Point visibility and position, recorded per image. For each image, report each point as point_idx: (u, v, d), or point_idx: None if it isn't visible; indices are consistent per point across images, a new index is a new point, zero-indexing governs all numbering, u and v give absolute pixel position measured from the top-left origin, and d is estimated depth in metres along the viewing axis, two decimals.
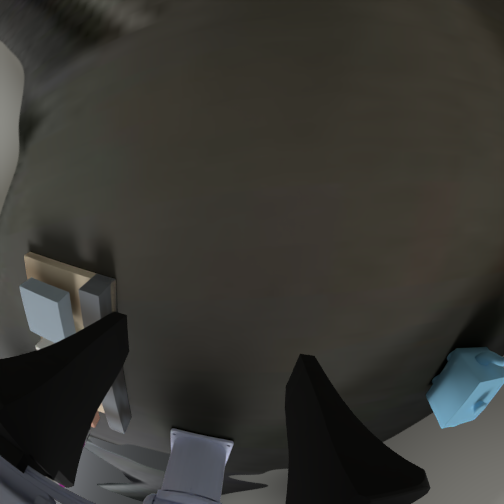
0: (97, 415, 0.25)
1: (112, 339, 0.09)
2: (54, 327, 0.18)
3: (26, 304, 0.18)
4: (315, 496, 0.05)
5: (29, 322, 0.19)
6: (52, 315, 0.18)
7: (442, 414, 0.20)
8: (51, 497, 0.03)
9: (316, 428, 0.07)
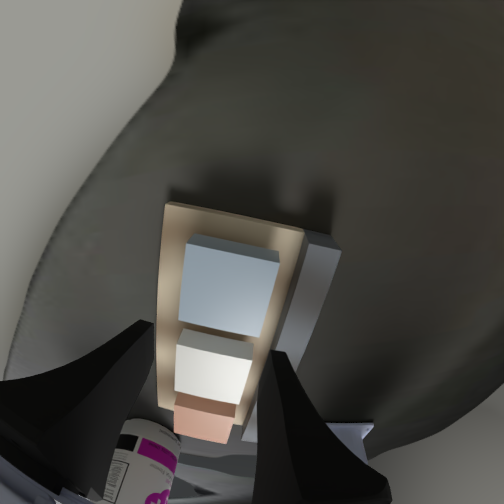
0: None
1: (141, 348, 0.09)
2: (249, 306, 0.15)
3: (191, 275, 0.15)
4: (272, 496, 0.05)
5: (183, 306, 0.16)
6: (255, 286, 0.15)
7: None
8: (51, 497, 0.03)
9: (277, 425, 0.07)
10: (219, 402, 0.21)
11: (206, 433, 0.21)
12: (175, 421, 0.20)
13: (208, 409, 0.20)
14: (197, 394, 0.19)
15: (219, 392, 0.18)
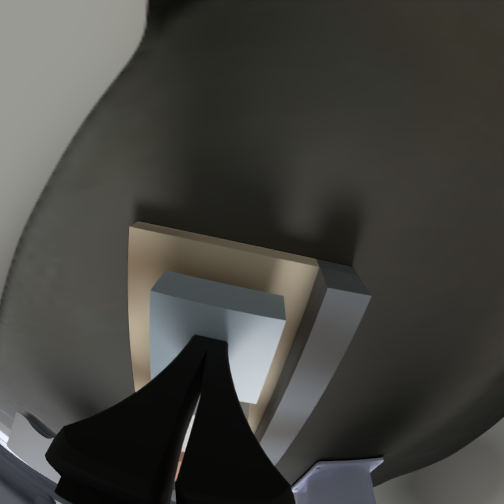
0: None
1: (202, 365, 0.09)
2: (241, 371, 0.11)
3: (161, 331, 0.10)
4: None
5: (155, 366, 0.11)
6: (250, 349, 0.10)
7: None
8: (51, 497, 0.03)
9: None
10: None
11: None
12: None
13: None
14: (183, 450, 0.14)
15: None
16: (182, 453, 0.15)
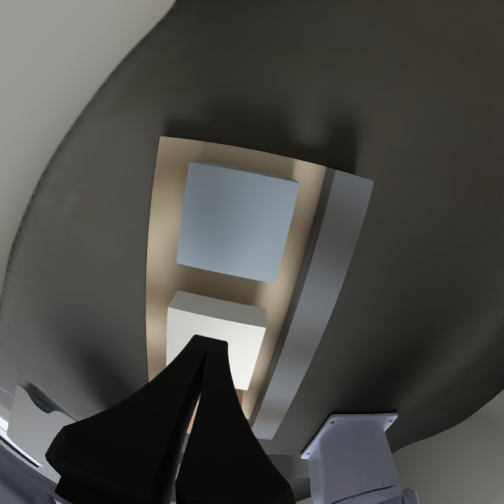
0: None
1: (202, 365, 0.09)
2: (263, 240, 0.13)
3: (194, 201, 0.12)
4: None
5: (183, 243, 0.13)
6: (271, 213, 0.12)
7: None
8: (51, 497, 0.03)
9: None
10: None
11: None
12: None
13: None
14: None
15: None
16: None
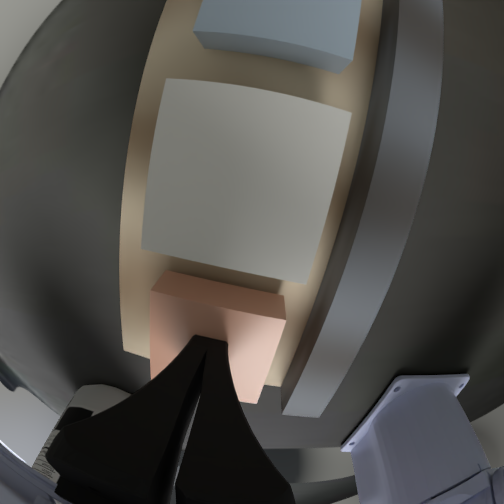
0: None
1: (202, 365, 0.09)
2: (329, 3, 0.06)
3: None
4: None
5: (208, 5, 0.06)
6: None
7: None
8: (51, 497, 0.03)
9: None
10: (249, 294, 0.11)
11: None
12: (152, 346, 0.10)
13: (227, 302, 0.10)
14: (199, 256, 0.08)
15: (259, 237, 0.08)
16: (197, 290, 0.10)
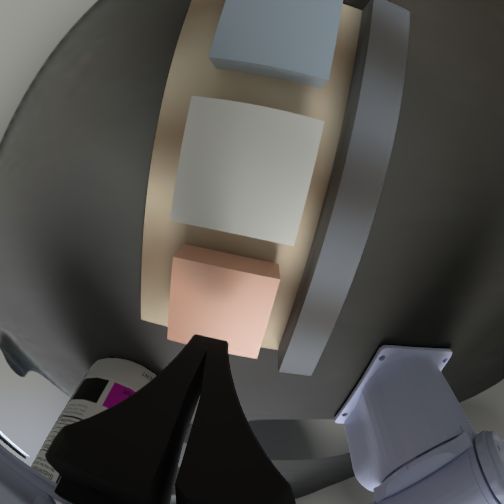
0: None
1: (202, 365, 0.09)
2: (312, 34, 0.09)
3: (237, 0, 0.08)
4: None
5: (220, 36, 0.09)
6: (319, 12, 0.08)
7: None
8: (51, 497, 0.03)
9: None
10: (250, 261, 0.14)
11: (224, 333, 0.14)
12: (171, 306, 0.13)
13: (234, 266, 0.13)
14: (215, 225, 0.11)
15: (258, 210, 0.10)
16: (209, 257, 0.13)
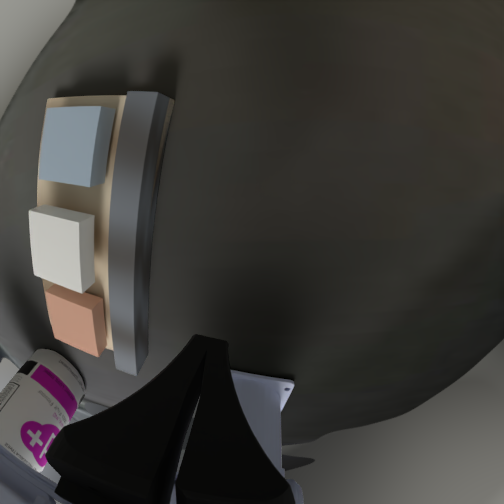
0: (104, 338, 0.20)
1: (202, 365, 0.09)
2: (80, 152, 0.14)
3: (47, 133, 0.13)
4: None
5: (41, 163, 0.14)
6: (84, 131, 0.13)
7: None
8: (51, 497, 0.03)
9: None
10: (85, 296, 0.19)
11: (77, 337, 0.19)
12: (51, 318, 0.18)
13: (72, 299, 0.18)
14: (49, 279, 0.16)
15: (63, 273, 0.15)
16: (63, 292, 0.18)
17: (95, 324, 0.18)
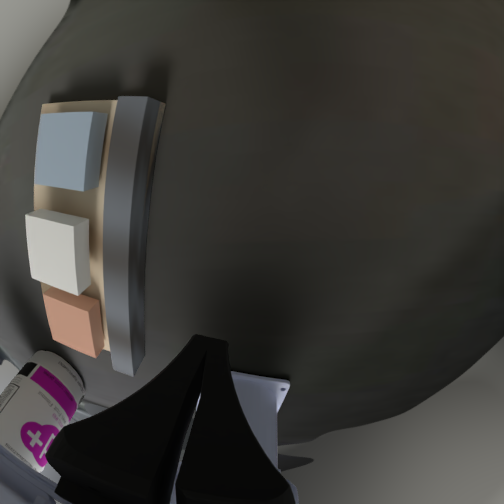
0: (101, 339, 0.21)
1: (202, 365, 0.09)
2: (74, 157, 0.14)
3: (42, 138, 0.13)
4: None
5: (37, 169, 0.14)
6: (77, 136, 0.13)
7: None
8: (51, 497, 0.03)
9: None
10: (82, 298, 0.19)
11: (75, 339, 0.19)
12: (49, 320, 0.19)
13: (69, 301, 0.18)
14: (46, 281, 0.16)
15: (59, 276, 0.16)
16: (61, 294, 0.18)
17: (92, 326, 0.19)
